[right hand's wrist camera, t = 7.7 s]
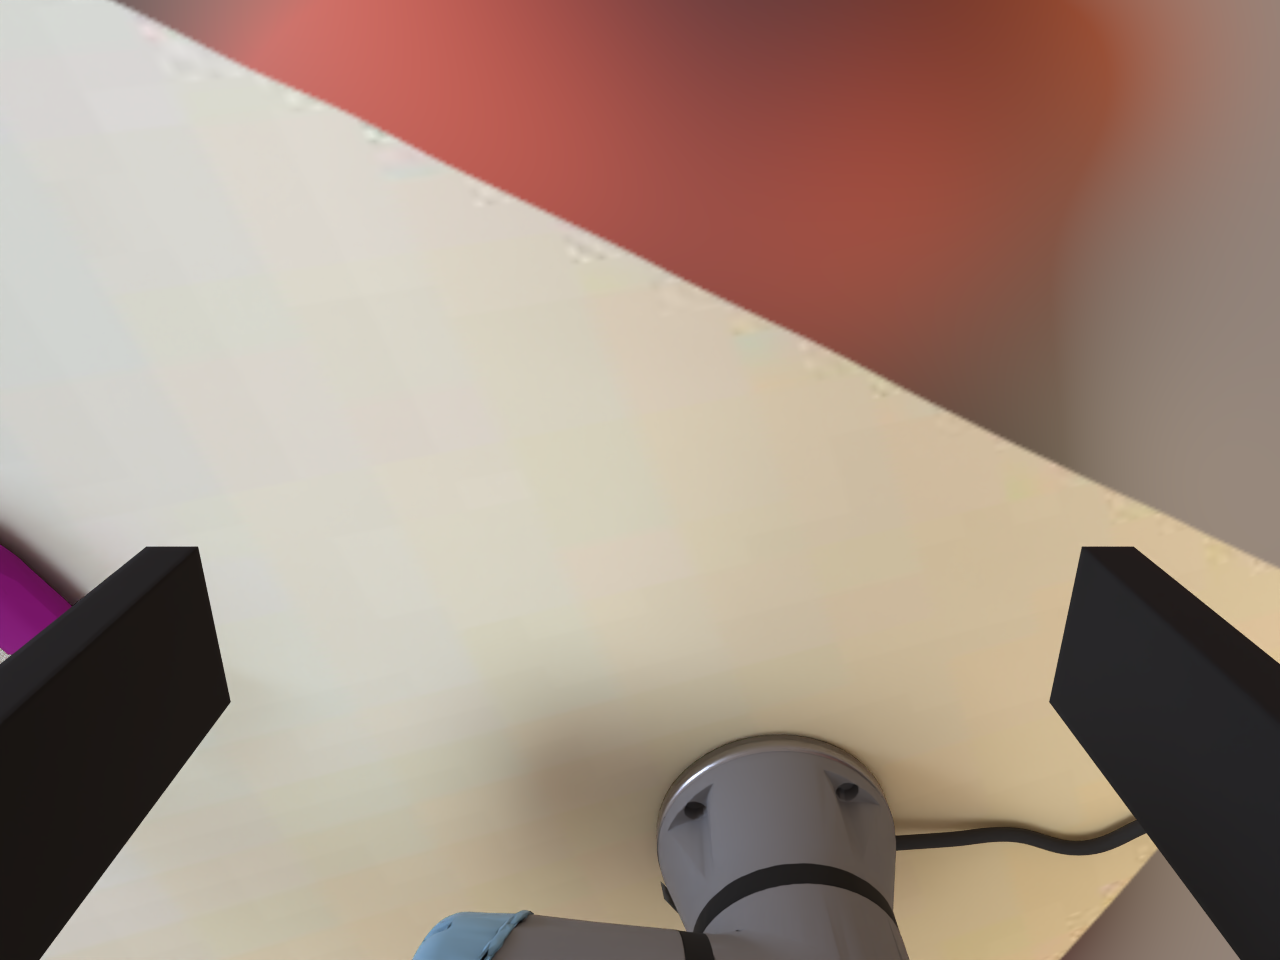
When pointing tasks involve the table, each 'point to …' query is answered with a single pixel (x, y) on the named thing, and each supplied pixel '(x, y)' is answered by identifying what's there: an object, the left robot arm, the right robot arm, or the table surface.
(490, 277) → the table surface
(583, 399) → the table surface
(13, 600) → the spray bottle
